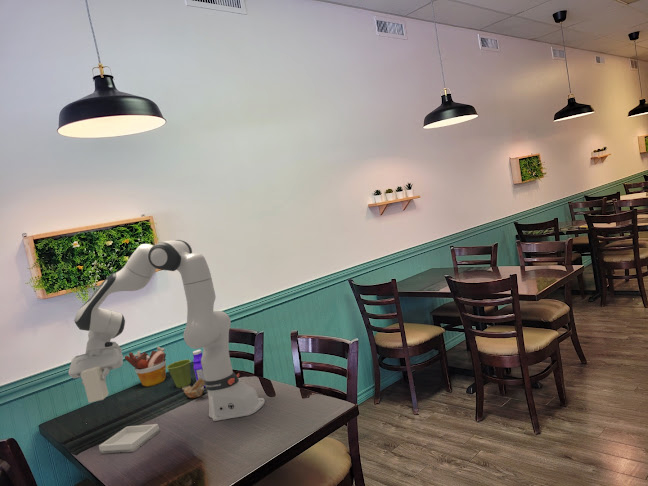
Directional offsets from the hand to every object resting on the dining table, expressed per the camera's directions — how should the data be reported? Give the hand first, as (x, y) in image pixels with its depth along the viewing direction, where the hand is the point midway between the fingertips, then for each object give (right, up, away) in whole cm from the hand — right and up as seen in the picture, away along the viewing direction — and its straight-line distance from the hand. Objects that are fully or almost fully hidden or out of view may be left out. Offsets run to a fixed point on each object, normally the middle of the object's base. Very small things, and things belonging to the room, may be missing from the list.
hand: (93, 382), depth 187 cm
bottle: (+32, -15, +46) cm, 58 cm away
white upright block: (+2, -7, +1) cm, 7 cm away
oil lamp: (+30, -16, +34) cm, 48 cm away
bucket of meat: (-2, -21, +71) cm, 74 cm away
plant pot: (+19, -18, +55) cm, 60 cm away
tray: (+16, -21, -5) cm, 27 cm away
